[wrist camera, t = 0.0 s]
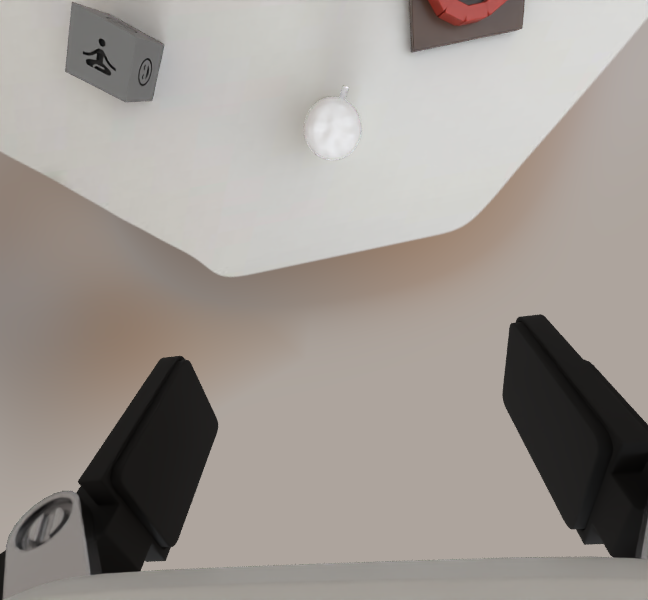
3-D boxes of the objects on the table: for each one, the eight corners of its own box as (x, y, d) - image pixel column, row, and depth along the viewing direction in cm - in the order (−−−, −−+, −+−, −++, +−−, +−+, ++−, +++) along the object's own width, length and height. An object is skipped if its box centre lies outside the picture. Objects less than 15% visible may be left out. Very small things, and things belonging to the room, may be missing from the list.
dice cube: (100, 73, 34) (65, 71, 30) (108, 13, 32) (72, 1, 27) (152, 100, 35) (125, 102, 31) (164, 44, 32) (137, 37, 28)
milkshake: (367, 96, 34) (376, 98, 25) (348, 153, 37) (350, 172, 28) (322, 78, 33) (315, 74, 25) (305, 137, 36) (294, 152, 27)
